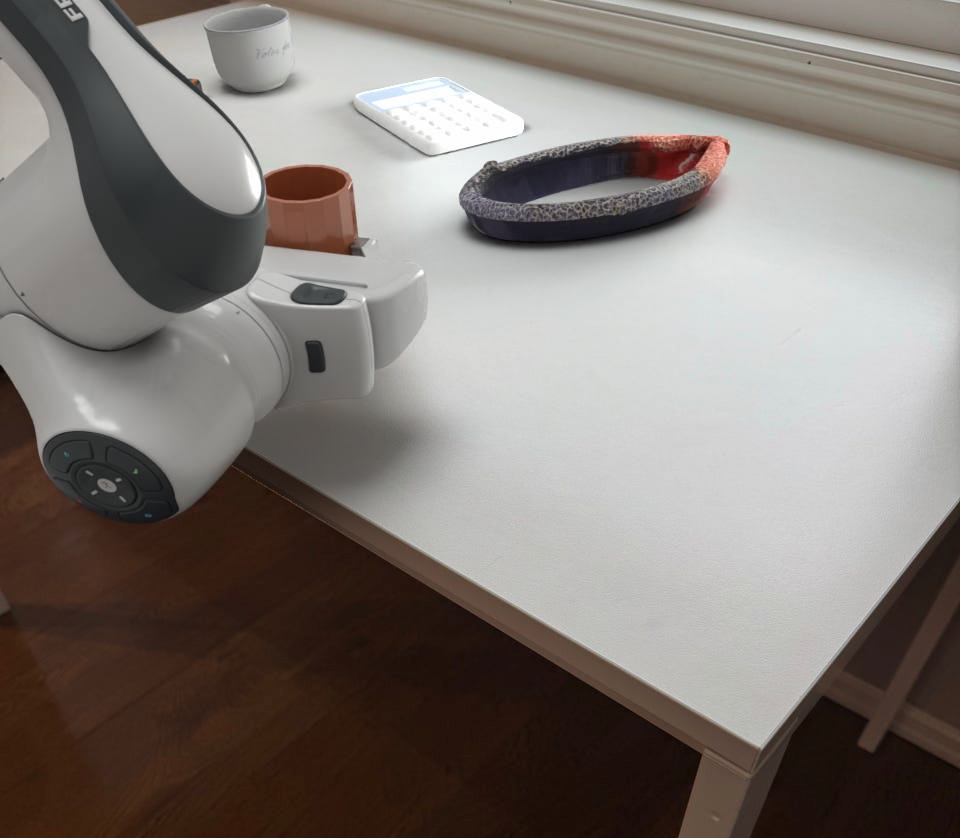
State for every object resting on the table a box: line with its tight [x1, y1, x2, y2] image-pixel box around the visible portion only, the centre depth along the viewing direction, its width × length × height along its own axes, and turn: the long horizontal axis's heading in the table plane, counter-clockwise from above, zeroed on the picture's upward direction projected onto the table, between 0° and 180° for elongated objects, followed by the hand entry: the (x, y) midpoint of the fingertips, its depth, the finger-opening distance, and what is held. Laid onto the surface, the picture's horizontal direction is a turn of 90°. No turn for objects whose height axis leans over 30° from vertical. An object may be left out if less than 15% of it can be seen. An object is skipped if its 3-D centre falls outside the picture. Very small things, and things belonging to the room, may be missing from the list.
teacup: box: [202, 3, 296, 93], centre depth 126 cm, size 14×11×8 cm
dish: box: [458, 133, 731, 243], centre depth 97 cm, size 16×31×5 cm, turn 115°
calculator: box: [353, 76, 525, 156], centre depth 117 cm, size 13×20×2 cm, turn 31°
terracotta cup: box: [263, 164, 359, 256], centre depth 70 cm, size 7×7×10 cm
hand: (317, 242), depth 70 cm, fingers closed on terracotta cup, 7 cm apart
